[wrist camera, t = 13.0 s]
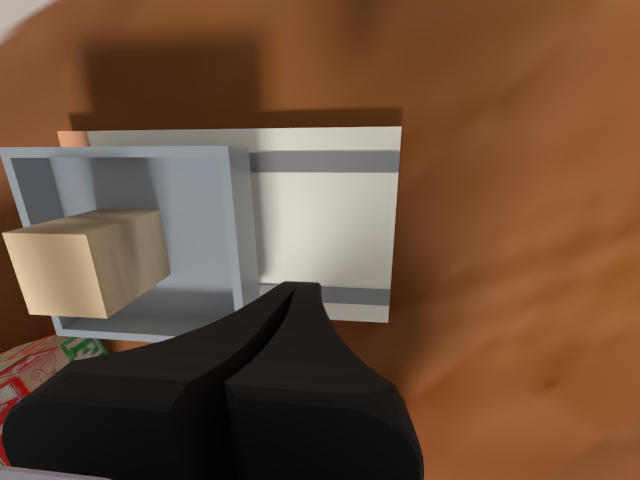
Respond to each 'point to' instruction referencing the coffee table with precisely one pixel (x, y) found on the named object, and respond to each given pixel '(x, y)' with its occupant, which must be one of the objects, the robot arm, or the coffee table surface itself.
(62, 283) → the maple block
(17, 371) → the multicoloured piece
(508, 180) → the coffee table surface
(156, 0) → the coffee table surface
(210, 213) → the grey storage bin
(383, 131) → the track board
